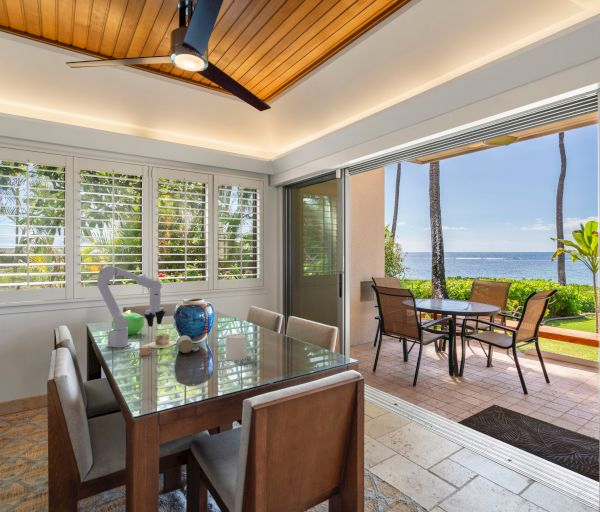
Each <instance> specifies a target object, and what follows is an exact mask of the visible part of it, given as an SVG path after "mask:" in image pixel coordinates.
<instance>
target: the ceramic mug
mask: <svg viewBox="0 0 600 512" xmlns="http://www.w3.org/2000/svg"><path fill="white" fill-rule="evenodd" d="M176 341H177V342H176V345H175V346H176V347H177V349H178V351H179V352H181V353H182V354H188V353H190V352H191V351H194V352H198V351H199V349H200V348H199V346H197V345H195V344H194V343H193V341H192V339H191V337H190V336H189V335H181V336H179V337H178V338H177V339H176Z"/></svg>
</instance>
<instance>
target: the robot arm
mask: <svg viewBox="0 0 600 512" xmlns="http://www.w3.org/2000/svg"><path fill="white" fill-rule="evenodd" d="M114 276H115V277H120V276H121V277H124V278H127V279H130V280H133V281H135V282H136V284H137V285H139V286H142V287H145V288H146V289H149V309H147V310H145V311H144V317H145V319H146V322H147V326H148V327H149V328H150V327H153V326H154V319H155V317H156V324H157V325H161V324H162V321H163V318H164V315H165V314H166V311H165V307H164V306H162V307H161V295H162V294H161V289H162V288H163V285H162V282H161V281H160V280H157V279H155V278H154V277H149V276H147V275H146V274H135V273H133V272H131V271H128V270H125V269H123V268H120V267H116V266H112V265H103V266H102V267H101V269H100V271H99V272H98V276H97V282H96V286H97V288H98V290H99V293H100V294H101V297H102V298H103V301H104V302H105V305H106V306H107V308H108V311H109V313H110V315H111V317H112V321H113V324H114V325H115V327H114V328H113V329H112V328H111V329H110V330H109V331H108V333H107V345H106V347H107V348H108V347H109V348H125V347H127V346H131V345H130V344H132V343H131V342H129V341H128V340H129V338H128V337H129V335H128V328H127V326H128V321H127V320H126V319H125V318H124V317H123V315H122V314H121V313H122V312H121V310H120V309H119V306H118V304H117V301H116V300H115V298H114V294H112V292H111V290H110V287H109V284H110V281H111V279H113V277H114Z"/></svg>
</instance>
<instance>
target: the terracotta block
mask: <svg viewBox="0 0 600 512" xmlns="http://www.w3.org/2000/svg"><path fill="white" fill-rule="evenodd" d="M151 349H152V348H151V346H143V345H142V346H140V347H139V357H143V356H142V355H148V356H150V355H151V354H150V353H151Z"/></svg>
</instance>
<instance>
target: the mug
mask: <svg viewBox="0 0 600 512" xmlns="http://www.w3.org/2000/svg"><path fill="white" fill-rule="evenodd" d="M247 355H248V334H245V333H229V334H227V335H225V360H227V361H230V360H233V362H234V361H235V360H239V361H243V360H242V359H244V360H246V359H247V358H248V356H247ZM245 358H246V359H245ZM235 362H236V361H235Z"/></svg>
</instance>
